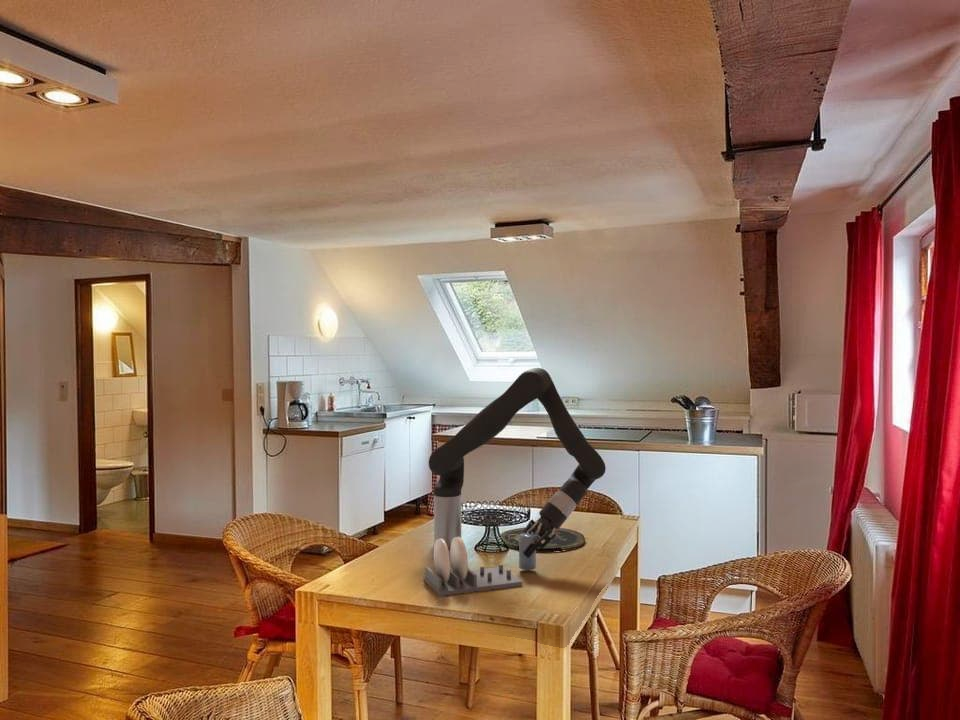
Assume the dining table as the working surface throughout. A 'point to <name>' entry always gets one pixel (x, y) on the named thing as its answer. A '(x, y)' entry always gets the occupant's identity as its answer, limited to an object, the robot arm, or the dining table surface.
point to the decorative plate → (560, 542)
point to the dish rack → (463, 572)
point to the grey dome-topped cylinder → (524, 542)
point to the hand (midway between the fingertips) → (521, 553)
